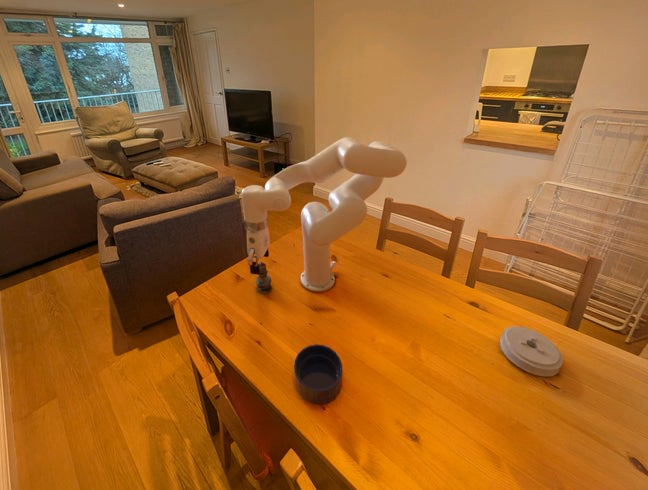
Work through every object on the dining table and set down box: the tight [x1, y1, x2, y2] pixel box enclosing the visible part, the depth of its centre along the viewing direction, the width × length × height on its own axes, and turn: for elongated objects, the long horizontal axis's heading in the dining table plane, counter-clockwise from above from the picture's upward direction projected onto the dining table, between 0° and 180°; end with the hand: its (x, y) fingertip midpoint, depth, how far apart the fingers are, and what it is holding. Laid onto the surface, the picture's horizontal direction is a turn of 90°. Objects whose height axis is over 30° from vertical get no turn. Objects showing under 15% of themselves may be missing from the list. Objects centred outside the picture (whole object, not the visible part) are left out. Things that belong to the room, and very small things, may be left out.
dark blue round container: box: [293, 344, 344, 406], centre depth 74 cm, size 12×12×6 cm
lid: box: [499, 325, 564, 378], centre depth 77 cm, size 13×13×5 cm
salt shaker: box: [255, 261, 272, 294], centre depth 105 cm, size 6×6×12 cm
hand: (260, 264), depth 103 cm, fingers open, 9 cm apart
